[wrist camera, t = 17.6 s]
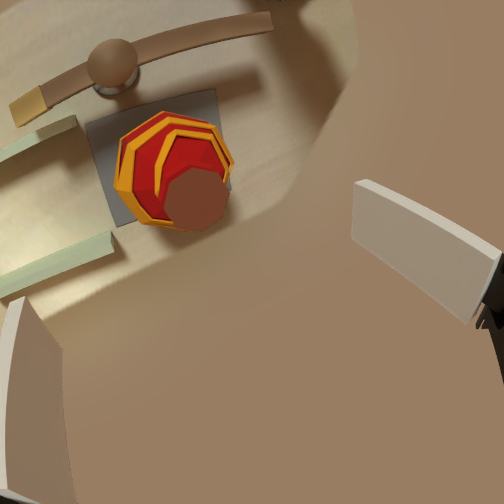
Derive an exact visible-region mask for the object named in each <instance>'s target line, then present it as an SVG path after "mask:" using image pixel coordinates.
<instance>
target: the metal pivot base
mask: <svg viewBox="0 0 504 504" xmlns="http://www.w3.org/2000/svg"><path fill="white" fill-rule="evenodd" d="M137 73H138V67H136V68H135V70H134V72H133V74H132V75H131V77H130V78H129V79H128V80H127V81H126V82H125V83H123V84H122V85H120V86H117V87H113V88H106V87H102V86H99V85H98V84H96V85H94V86H93V87H94V89H96V90H97V91H98V92H100V93H102V94H107V95H114V94H118V93H121V92H123V91H125V90H126V89H127V88H129V87H130V86H131V85H132V83H133V82H134V80H135V79H136V76H137Z"/></svg>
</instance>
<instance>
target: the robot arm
mask: <svg viewBox="0 0 504 504" xmlns="http://www.w3.org/2000/svg"><path fill="white" fill-rule="evenodd" d="M351 239H352V240H354V241H355V242H357V243H358V244H359V245H361V246H362V247H364V248H365V249H366V250H368V251H369V252H371V253H372V254H374V255H375V256H376V257H378V258H379V259H381V260H382V261H383V262H385V263H386V264H388V265H389V266H390V267H392V268H393V269H394V270H396V271H397V272H399V273H400V274H402V275H403V276H404V277H405V278H407V279H408V280H409V281H411V282H412V283H413V284H415V285H416V286H417V287H419V288H420V289H421V290H423V291H424V292H425V293H427V294H428V295H429V296H430V297H432V298H433V299H434V300H435V301H437V302H438V303H439V304H441V305H442V306H443V307H444V308H446V309H447V310H448V311H449V312H451V313H452V314H453V315H454V316H456V317H457V318H458V319H459V320H460V321H462V322H463V323H464V324H465V325H466V324H467V323H468V322H469V321H470V320H471V319H472V318H473V317H474V316H475V315H476V313H477V311H478V309H479V307H480V305H481V302H483V303H484V304H485V306H484V308H483V310H482V312H481V314H480V316H479V318H478V320H477V322H476V329H479V327H480V325H481V323H482V321H483V320H484V319H485V321H484V323H483V325H482V329H489V332H490V335H491V338H492V341H493V345H494V348H495V352H496V355H497V359H498V362H499V366H500V370H501V374H502V379H503V383H504V254H503V253H502V252H501V251H500V250H498V249H497V248H495V247H494V246H492V245H490V244H489V243H487V242H486V241H484V240H482V239H481V238H479V237H478V236H476V235H474V234H473V233H471V232H469V231H467V230H466V229H464V228H462V227H461V226H459V225H457V224H455V223H454V222H452V221H450V220H448V219H446V218H445V217H443V216H441V215H439V214H437V213H436V212H433V211H432V210H430V209H428V208H426V207H424V206H422V205H420V204H418V203H416V202H414V201H412V200H410V199H408V198H406V197H404V196H402V195H400V194H398V193H396V192H394V191H392V190H390V189H388V188H385V187H383V186H381V185H379V184H377V183H375V182H372V181H370V180H368V179H365V180H361V181H358V182H355V183H354V196H353V216H352V232H351ZM0 504H78V503H77V499H76V495H75V490H74V485H73V481H72V475H71V469H70V464H69V457H68V450H67V443H66V433H65V423H64V410H63V391H62V348H61V347H60V345H59V344H58V343H57V341H56V340H55V339H54V337H53V336H52V335H51V333H50V332H49V331H48V329H47V328H46V326H45V325H44V323H43V322H42V321H41V319H40V318H39V316H38V315H37V313H36V312H35V310H34V309H33V307H32V306H31V304H30V302H29V301H28V299H27V298H26V296H23V297H21V298H19V299H16V300H14V301H12V302H10V303H9V307H8V310H7V313H6V317H5V320H4V324H3V328H2V332H1V336H0Z"/></svg>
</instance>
